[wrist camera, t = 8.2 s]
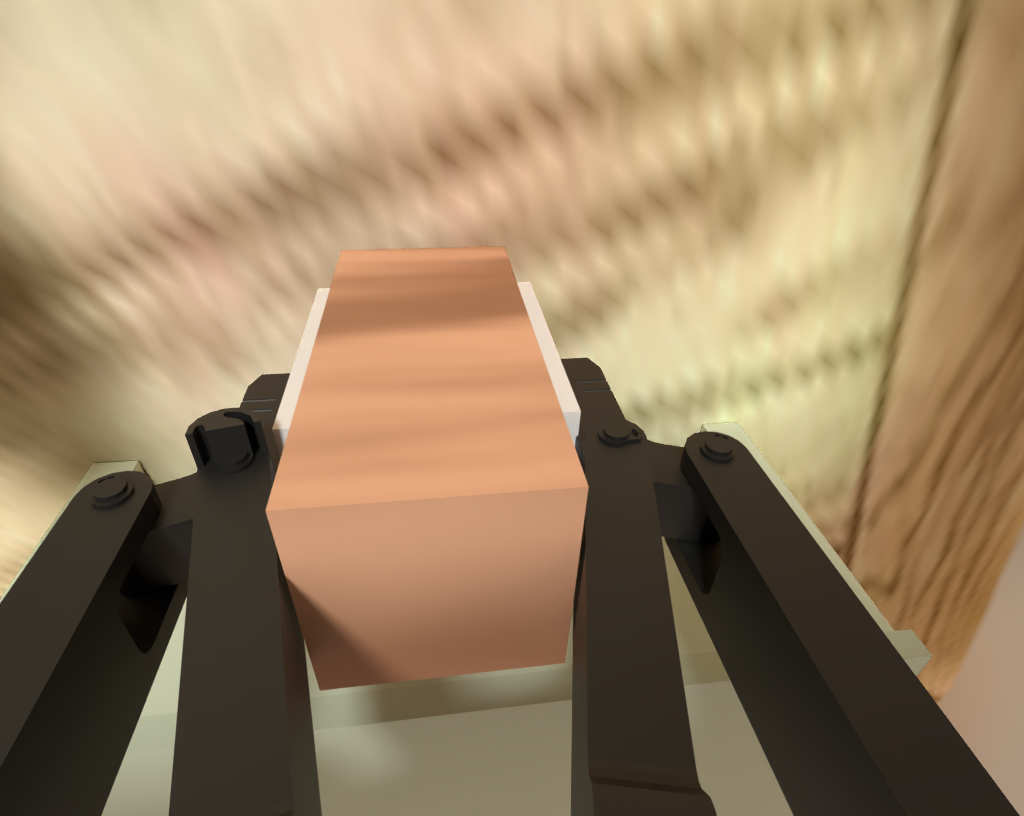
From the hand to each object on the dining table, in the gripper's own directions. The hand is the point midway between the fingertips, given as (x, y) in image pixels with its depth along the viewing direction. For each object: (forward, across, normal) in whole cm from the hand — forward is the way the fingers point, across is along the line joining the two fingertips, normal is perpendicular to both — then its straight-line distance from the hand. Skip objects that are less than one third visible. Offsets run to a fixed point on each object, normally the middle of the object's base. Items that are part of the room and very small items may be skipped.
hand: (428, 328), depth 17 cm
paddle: (0, 0, -9) cm, 9 cm away
